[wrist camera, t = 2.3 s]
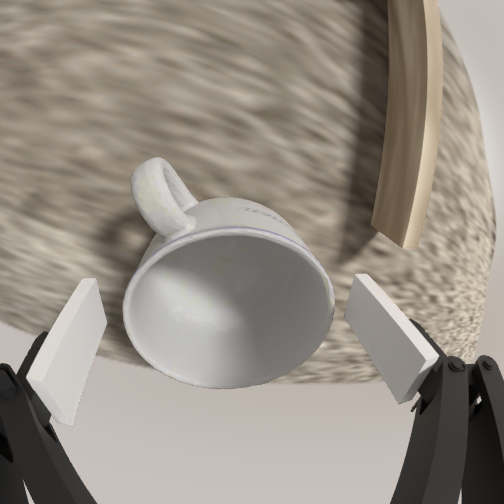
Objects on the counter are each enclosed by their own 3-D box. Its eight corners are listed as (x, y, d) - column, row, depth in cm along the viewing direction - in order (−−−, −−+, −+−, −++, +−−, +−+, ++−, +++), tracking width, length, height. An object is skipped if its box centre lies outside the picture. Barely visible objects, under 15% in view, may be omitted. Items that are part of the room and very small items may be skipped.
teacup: (300, 296, 23) (338, 366, 16) (176, 330, 23) (172, 408, 16) (267, 121, 17) (313, 121, 10) (108, 169, 16) (52, 203, 9)
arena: (131, 224, 18) (114, 252, 14) (155, -60, 9) (147, -91, 5) (384, 225, 22) (417, 248, 18) (398, -18, 12) (431, -32, 8)
